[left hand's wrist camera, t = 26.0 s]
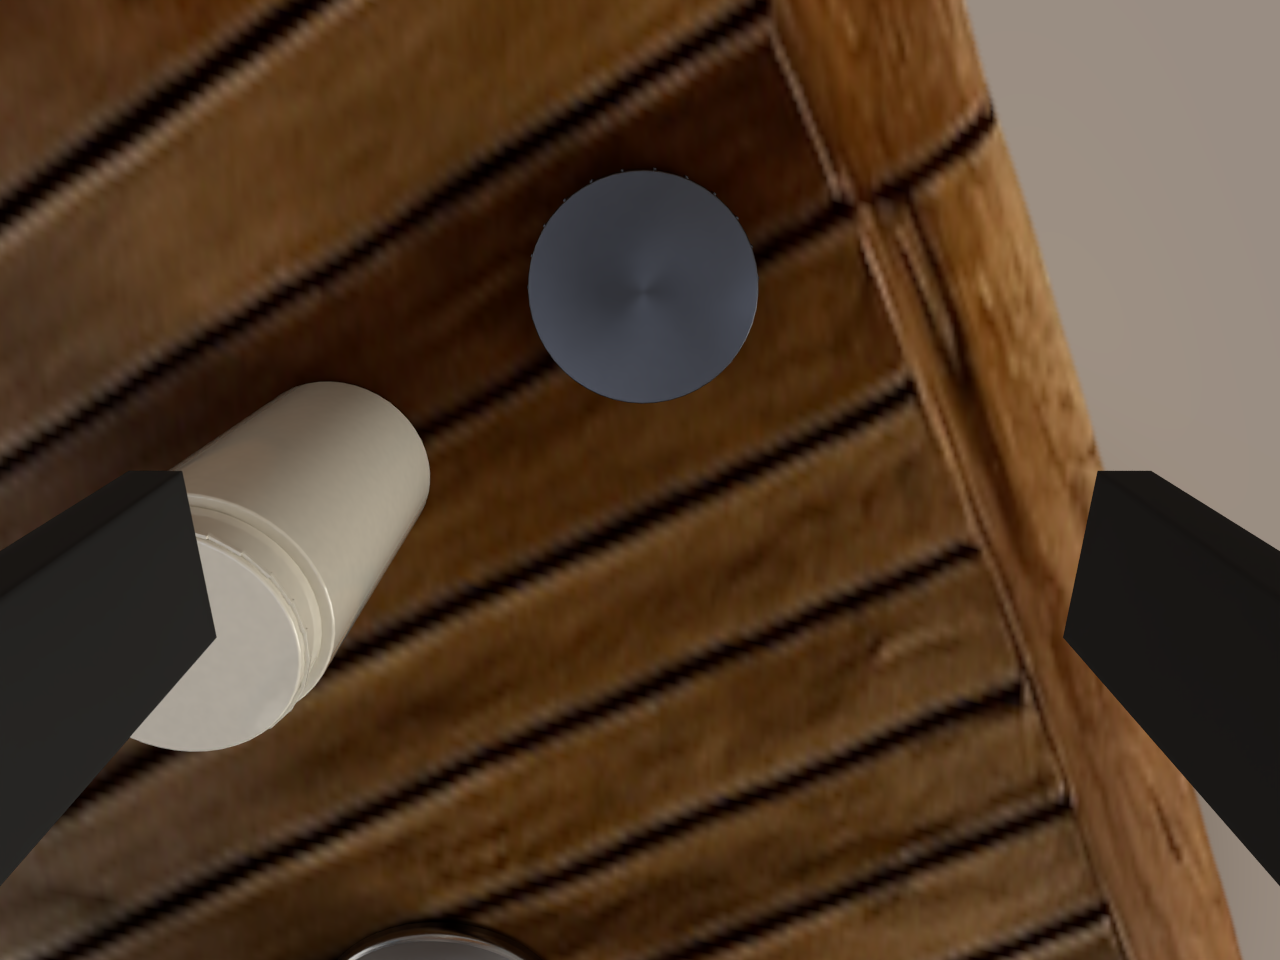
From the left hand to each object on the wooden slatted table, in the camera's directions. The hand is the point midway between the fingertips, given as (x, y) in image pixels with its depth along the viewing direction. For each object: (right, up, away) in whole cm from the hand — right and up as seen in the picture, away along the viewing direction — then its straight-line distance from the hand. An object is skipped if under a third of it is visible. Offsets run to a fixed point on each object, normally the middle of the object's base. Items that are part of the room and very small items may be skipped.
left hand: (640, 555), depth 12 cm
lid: (0, +9, +22) cm, 24 cm away
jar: (-14, +2, +27) cm, 30 cm away
